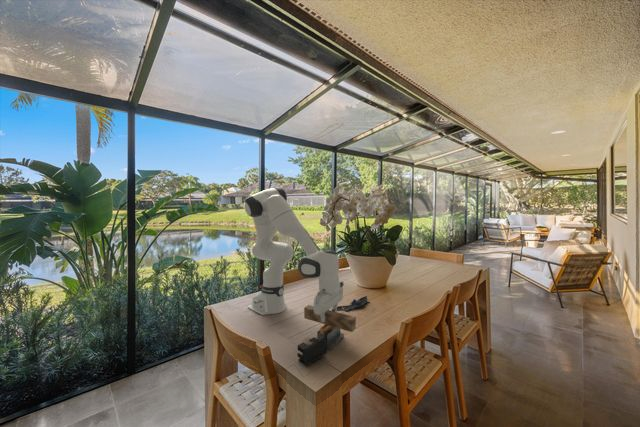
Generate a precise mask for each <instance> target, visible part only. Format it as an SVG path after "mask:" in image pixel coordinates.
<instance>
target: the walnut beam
mask: <svg viewBox="0 0 640 427" xmlns="http://www.w3.org/2000/svg"><path fill="white" fill-rule="evenodd" d="M303 309H304V310H303V311H304V312H303V313H304V314H303V316H304V319H306V320H308V321H309V320H310V321H312V322H316V323H320V324H323V325H325V324H326V325H329V326H333V327H336V328H340V330H344V331H347V332H351V333H353V332H354V331H355V330H356V329H357V326H356V325H357V324H356V323H357V322H356V321H357V318H356V316H353V315H351V314H346V313H343V312H334V311H332V310H331V309H329V310H328V311H326V312H325V317H326V321H325V322H321V317H320V315H317V314H315V313H314V305H310V304H308V305H306V306H304V308H303Z"/></svg>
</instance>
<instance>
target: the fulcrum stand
mask: <svg viewBox="0 0 640 427" xmlns="http://www.w3.org/2000/svg"><path fill="white" fill-rule="evenodd" d="M344 336H345V333H343V332H341V329H340V328H336V327H333V326H329V325H326V324H323V325H322V326H321V327H320V328H319V330H318V331H317V332H316V339H318V340H320V339H323V340H324V341H325V342H326V344H327V351H332V349H334V347H335V346H337V345H338V343H339V342H340V341H342V339H344V338H345V337H344Z"/></svg>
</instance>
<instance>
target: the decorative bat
mask: <svg viewBox="0 0 640 427" xmlns="http://www.w3.org/2000/svg"><path fill="white" fill-rule="evenodd" d="M367 297H368V296H367V295H366V296H363V297H360V298H359V299H353V300H352V301H350V303H349V305H339V306H337V311H343V312H349V311H350V310H354V309H355V308H357V309H360V308H363V306H364V305H365V304H368V303H369V301H368V299H367Z"/></svg>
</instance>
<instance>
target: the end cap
mask: <svg viewBox="0 0 640 427" xmlns="http://www.w3.org/2000/svg"><path fill="white" fill-rule="evenodd" d="M308 341H309V342H310V343H311V344H308V343H305V342H302V343H300V344H298V345H297V351H298V352H297V357H298V358H297V360H298V362H299V363H301V364H302V365H304V366H308V365H310V364H311V363H313V362H315V361H316V360H318V359H319V358H322V357H323V356H324V355H326V354H327V353H328V350H327V344H326V342H325V341H324V340H323V339H320V340H318V339H317V337H311V338H310V339H308Z"/></svg>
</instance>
